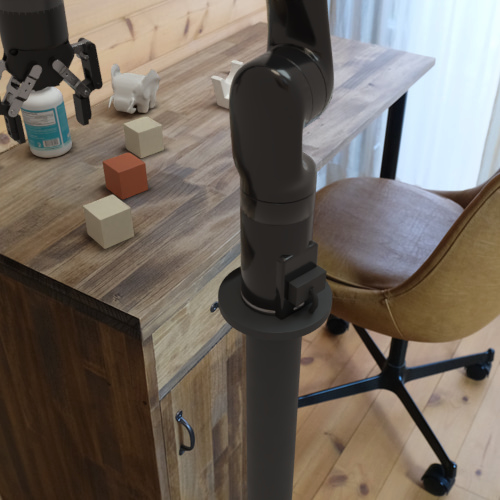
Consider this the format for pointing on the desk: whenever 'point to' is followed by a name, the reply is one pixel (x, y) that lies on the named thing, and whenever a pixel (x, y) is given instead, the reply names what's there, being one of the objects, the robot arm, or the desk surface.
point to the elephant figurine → (133, 90)
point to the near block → (108, 221)
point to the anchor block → (125, 175)
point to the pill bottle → (46, 123)
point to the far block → (143, 136)
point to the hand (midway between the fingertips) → (52, 132)
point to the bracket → (225, 84)
